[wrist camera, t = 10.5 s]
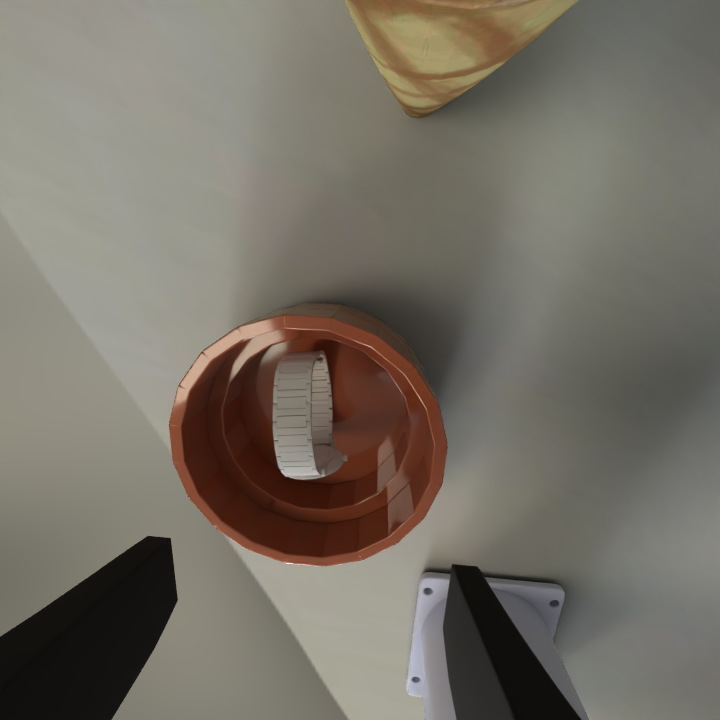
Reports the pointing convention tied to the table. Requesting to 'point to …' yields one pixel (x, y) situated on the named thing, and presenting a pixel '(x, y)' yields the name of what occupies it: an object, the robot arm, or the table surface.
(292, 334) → the bowl
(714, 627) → the table surface
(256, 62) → the table surface
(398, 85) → the ice cream cone
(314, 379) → the wristwatch
